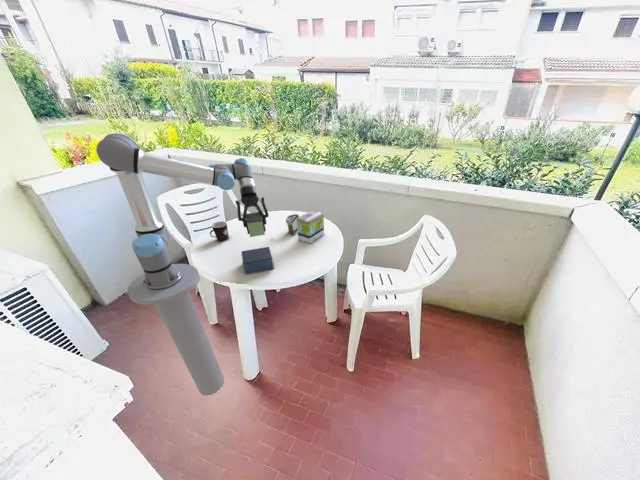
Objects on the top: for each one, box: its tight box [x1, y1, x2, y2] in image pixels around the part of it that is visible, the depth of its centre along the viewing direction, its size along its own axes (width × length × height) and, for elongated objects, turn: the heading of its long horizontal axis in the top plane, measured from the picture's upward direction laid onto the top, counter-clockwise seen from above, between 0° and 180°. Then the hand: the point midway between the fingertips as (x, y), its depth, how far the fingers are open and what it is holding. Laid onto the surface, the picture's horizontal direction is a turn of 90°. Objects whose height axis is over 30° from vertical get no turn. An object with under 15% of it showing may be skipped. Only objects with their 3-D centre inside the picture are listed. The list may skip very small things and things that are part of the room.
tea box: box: [297, 210, 325, 244], centre depth 176 cm, size 15×10×15 cm, turn 151°
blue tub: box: [240, 246, 274, 275], centre depth 150 cm, size 14×12×7 cm
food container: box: [285, 213, 300, 236], centre depth 183 cm, size 12×6×10 cm, turn 168°
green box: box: [245, 211, 266, 238], centre depth 139 cm, size 7×10×8 cm
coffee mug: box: [209, 221, 230, 242], centre depth 173 cm, size 12×9×10 cm
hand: (256, 231), depth 138 cm, fingers closed on green box, 7 cm apart
